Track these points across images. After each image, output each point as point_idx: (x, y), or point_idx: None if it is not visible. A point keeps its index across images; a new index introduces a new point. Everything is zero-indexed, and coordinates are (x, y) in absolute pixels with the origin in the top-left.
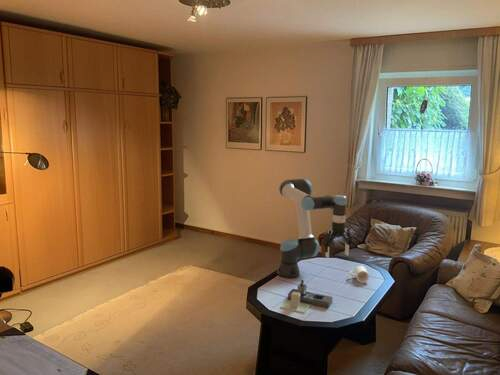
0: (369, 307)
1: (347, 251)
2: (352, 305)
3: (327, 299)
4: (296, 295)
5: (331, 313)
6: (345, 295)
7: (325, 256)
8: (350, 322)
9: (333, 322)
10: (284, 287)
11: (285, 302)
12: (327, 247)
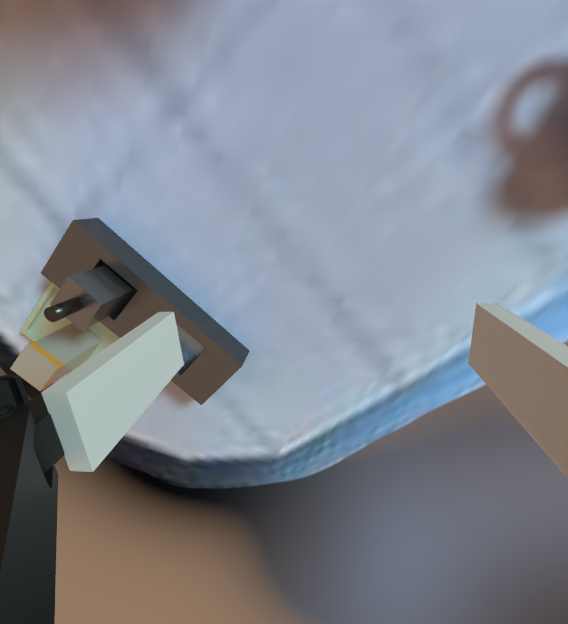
0: (385, 425)
1: (498, 392)
2: (325, 391)
3: (206, 381)
4: (34, 386)
5: (209, 416)
6: (356, 297)
7: (158, 313)
8: (246, 482)
9: (190, 464)
10: (71, 103)
11: (44, 302)
12: (64, 448)
